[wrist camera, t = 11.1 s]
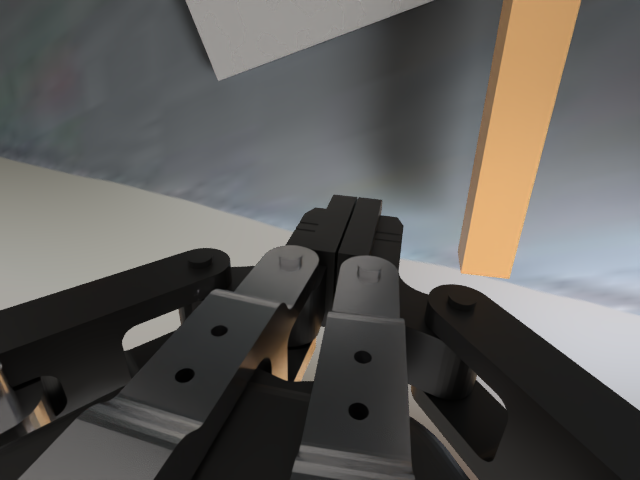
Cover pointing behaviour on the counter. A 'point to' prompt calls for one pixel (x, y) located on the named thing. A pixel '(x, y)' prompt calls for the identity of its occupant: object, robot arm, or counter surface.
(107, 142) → the counter surface
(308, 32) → the plate
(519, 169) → the swing arm
